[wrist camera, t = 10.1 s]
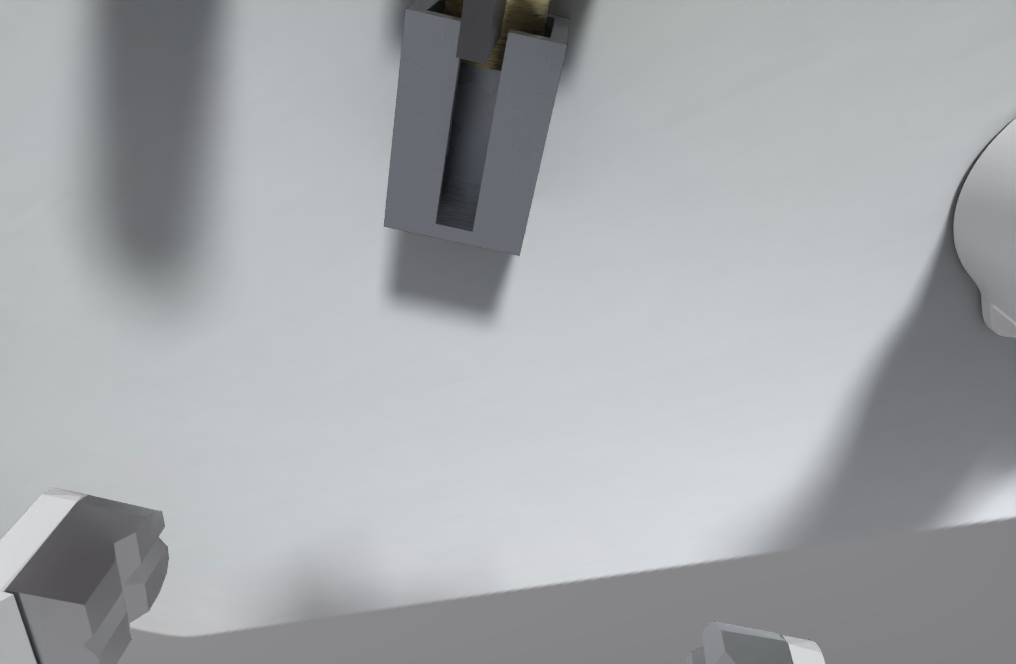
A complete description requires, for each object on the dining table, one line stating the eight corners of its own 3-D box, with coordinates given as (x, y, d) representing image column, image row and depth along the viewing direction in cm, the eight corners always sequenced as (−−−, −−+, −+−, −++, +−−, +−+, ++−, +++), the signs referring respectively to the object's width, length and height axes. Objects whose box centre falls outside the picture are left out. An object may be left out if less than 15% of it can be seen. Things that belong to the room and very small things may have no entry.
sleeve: (569, 19, 37) (567, 45, 31) (528, 202, 43) (519, 255, 37) (435, -12, 37) (405, 8, 31) (412, 177, 43) (383, 226, 37)
